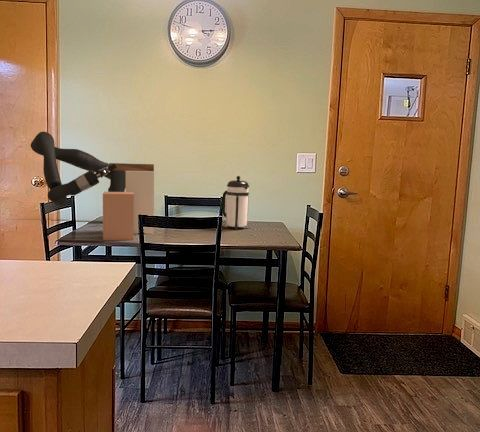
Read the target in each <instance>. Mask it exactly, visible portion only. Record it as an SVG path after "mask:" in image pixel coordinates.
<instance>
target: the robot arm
mask: <svg viewBox="0 0 480 432" xmlns="http://www.w3.org/2000/svg"><path fill="white" fill-rule="evenodd" d="M55 144H56V143H55V140H54V137H53V135H52V134H51V133H49V132H48V131H40V132H38V133H37V134H36V135H35V137H34V138H33V140H31V142H30V148H31V150H32V151H33V152H34V153H36V154H37V155H40V156H43V170H42V171H43V176H44V181H45V184H46V186H47V187H48V188H49V190H48V192H47V199H49V201H51V202H52V203H53V204H55V205H57V206H63V205H65V204H66V202H67V200H68V196H77V195H79V194H81V193H82V192H84V191H87V190H88V189H91V188H92V187H94V186H97V185H98V184H100V180H99V179H102V178H106V179H108V180H110V182H109V187H108V188H107V189H108V190H107V192H126V171H117V170H113V169H115V168H116V165H115V164H113V165H111V166H109V163H108V162H104V161H102V160H100V159H98V158H97V157H95V156H94V155H92V154H90V153H87V152H86V151H84V150H81V149H77V148H60V147H58V146H57V147H56V146H55ZM57 160H58V161H60V162H63V163H66V164H68V165H71V166H73V167H76V168H79V169H81V170H85V171H86V172H85V173H83V174H81V175H79V176H77V177H76V178H74V179H72V180H71V181H69V182H67V183H62V180H61V176H60V172H59V168H58V164H57Z"/></svg>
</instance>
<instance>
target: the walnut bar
mask: <svg viewBox="0 0 480 432" xmlns="http://www.w3.org/2000/svg"><path fill="white" fill-rule="evenodd" d="M108 164H109V166H111V165H113V164H115V165H116V168H115V169H113V170H117V171H154V172H155V164H154V163H153V164H152V163H148V164H147V163H125V162H123V163H119V162H115V163H114V162H109V163H108Z"/></svg>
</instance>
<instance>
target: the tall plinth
mask: <svg viewBox="0 0 480 432" xmlns="http://www.w3.org/2000/svg"><path fill="white" fill-rule="evenodd" d="M125 192H134V235H139V234H138V215H139V214H141V215H148V216H155V215H154V213H155V211H154V210H155V209H154V208H155V205H154V204H155V170H154V171H126V188H125ZM154 230H155V229H154V228H144V233H145V235H154Z"/></svg>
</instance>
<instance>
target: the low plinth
mask: <svg viewBox="0 0 480 432" xmlns="http://www.w3.org/2000/svg"><path fill="white" fill-rule="evenodd" d="M134 237H135V234H134V192H126V191H125V192H108V191H104V192H103V193H102V240H103V241H134Z"/></svg>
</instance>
